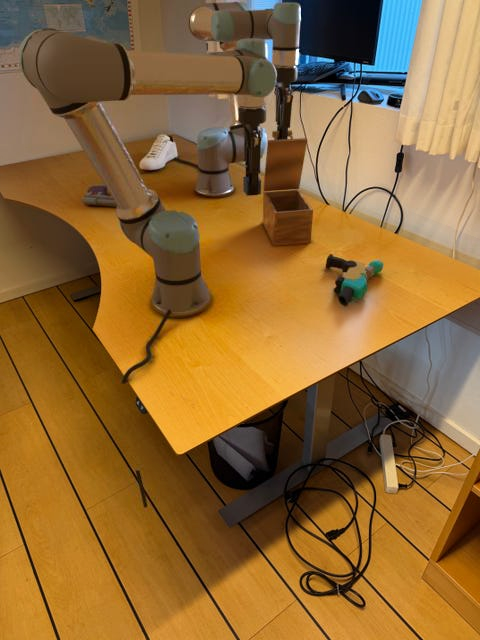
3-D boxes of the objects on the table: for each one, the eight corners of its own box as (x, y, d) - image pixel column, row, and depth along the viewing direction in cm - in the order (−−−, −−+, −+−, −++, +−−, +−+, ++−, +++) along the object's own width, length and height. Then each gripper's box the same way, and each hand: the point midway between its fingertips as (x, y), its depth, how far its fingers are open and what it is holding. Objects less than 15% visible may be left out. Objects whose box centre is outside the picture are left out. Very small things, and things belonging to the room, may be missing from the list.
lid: (307, 139, 145) (301, 124, 149) (268, 142, 143) (263, 126, 148) (299, 188, 159) (293, 173, 164) (263, 191, 158) (259, 175, 163)
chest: (310, 242, 153) (313, 210, 146) (273, 245, 151) (274, 213, 145) (296, 220, 167) (298, 189, 160) (262, 222, 165) (263, 192, 159)
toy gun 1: (139, 195, 187) (124, 210, 175) (95, 192, 190) (77, 207, 178) (137, 185, 184) (122, 200, 173) (93, 182, 188) (75, 197, 176)
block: (260, 194, 138) (261, 180, 136) (247, 195, 138) (247, 181, 135) (257, 189, 142) (257, 175, 139) (243, 190, 141) (243, 176, 138)
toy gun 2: (303, 285, 123) (360, 300, 117) (335, 245, 141) (386, 256, 135) (302, 300, 125) (358, 315, 119) (334, 258, 144) (383, 270, 138)
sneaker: (133, 173, 208) (129, 144, 201) (161, 153, 230) (158, 127, 223) (155, 175, 205) (151, 146, 198) (180, 155, 227) (178, 129, 220)
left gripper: (273, 113, 119) (270, 202, 133) (259, 99, 133) (258, 180, 147) (243, 114, 118) (244, 203, 132) (233, 100, 132) (234, 182, 146)
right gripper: (304, 69, 133) (299, 154, 147) (291, 61, 145) (287, 141, 159) (278, 70, 132) (275, 156, 146) (267, 62, 144) (265, 142, 158)
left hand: (251, 191), depth 139 cm, fingers closed on block, 4 cm apart
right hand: (281, 148), depth 153 cm, fingers closed on lid, 2 cm apart
